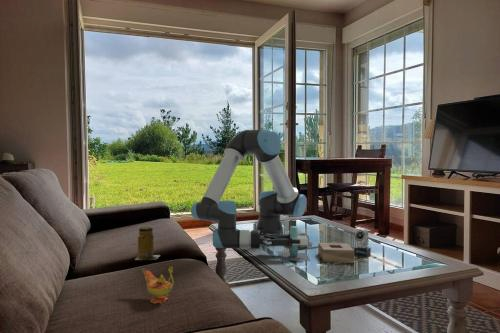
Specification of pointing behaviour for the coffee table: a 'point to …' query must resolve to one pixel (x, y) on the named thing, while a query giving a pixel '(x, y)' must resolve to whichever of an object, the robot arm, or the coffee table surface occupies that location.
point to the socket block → (336, 252)
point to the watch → (362, 243)
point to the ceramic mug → (303, 235)
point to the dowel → (294, 247)
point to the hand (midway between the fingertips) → (307, 240)
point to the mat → (287, 257)
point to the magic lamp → (158, 285)
